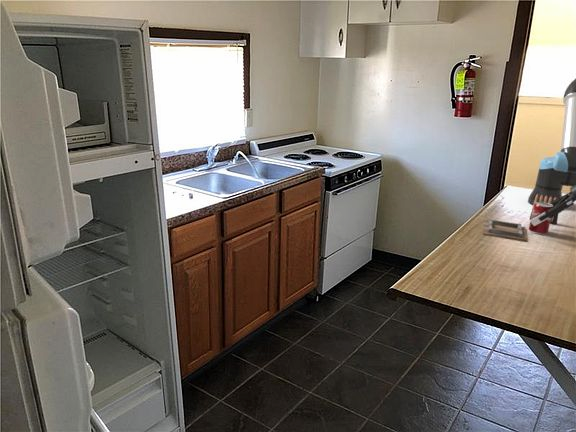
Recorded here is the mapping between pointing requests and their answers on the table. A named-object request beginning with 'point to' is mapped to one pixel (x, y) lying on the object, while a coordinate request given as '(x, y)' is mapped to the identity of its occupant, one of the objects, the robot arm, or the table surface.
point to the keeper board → (504, 230)
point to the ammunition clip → (546, 202)
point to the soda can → (538, 210)
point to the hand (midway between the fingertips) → (534, 218)
